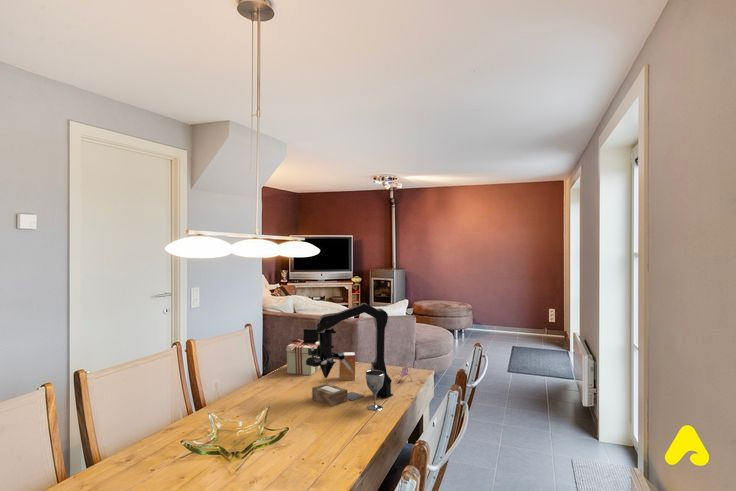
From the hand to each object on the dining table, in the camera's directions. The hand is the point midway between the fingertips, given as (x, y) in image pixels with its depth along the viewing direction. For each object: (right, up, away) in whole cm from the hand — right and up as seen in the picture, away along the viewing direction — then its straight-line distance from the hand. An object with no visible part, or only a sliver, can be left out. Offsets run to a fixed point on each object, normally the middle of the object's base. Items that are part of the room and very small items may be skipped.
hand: (325, 377), depth 191 cm
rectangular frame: (+2, -9, -2) cm, 10 cm away
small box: (+8, -10, +29) cm, 32 cm away
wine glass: (+22, -10, -11) cm, 26 cm away
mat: (+12, -10, +3) cm, 15 cm away
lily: (+38, -10, +26) cm, 47 cm away
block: (+2, -6, -2) cm, 7 cm away
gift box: (-16, -10, +41) cm, 45 cm away
